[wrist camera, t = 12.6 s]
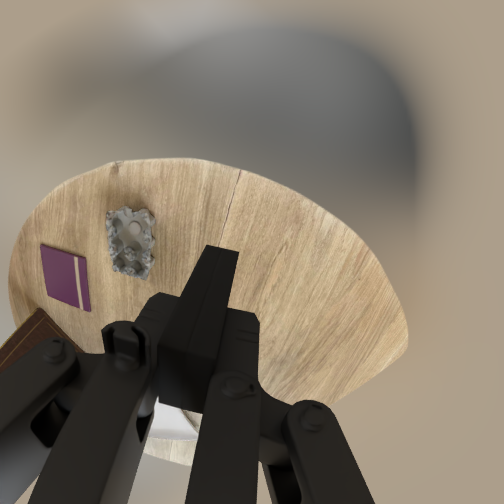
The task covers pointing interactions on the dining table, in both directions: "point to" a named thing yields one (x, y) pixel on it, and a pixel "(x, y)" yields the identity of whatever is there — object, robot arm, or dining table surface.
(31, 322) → the book
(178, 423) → the plate
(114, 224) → the egg carton
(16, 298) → the dining table surface
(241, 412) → the robot arm
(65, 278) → the tea towel
